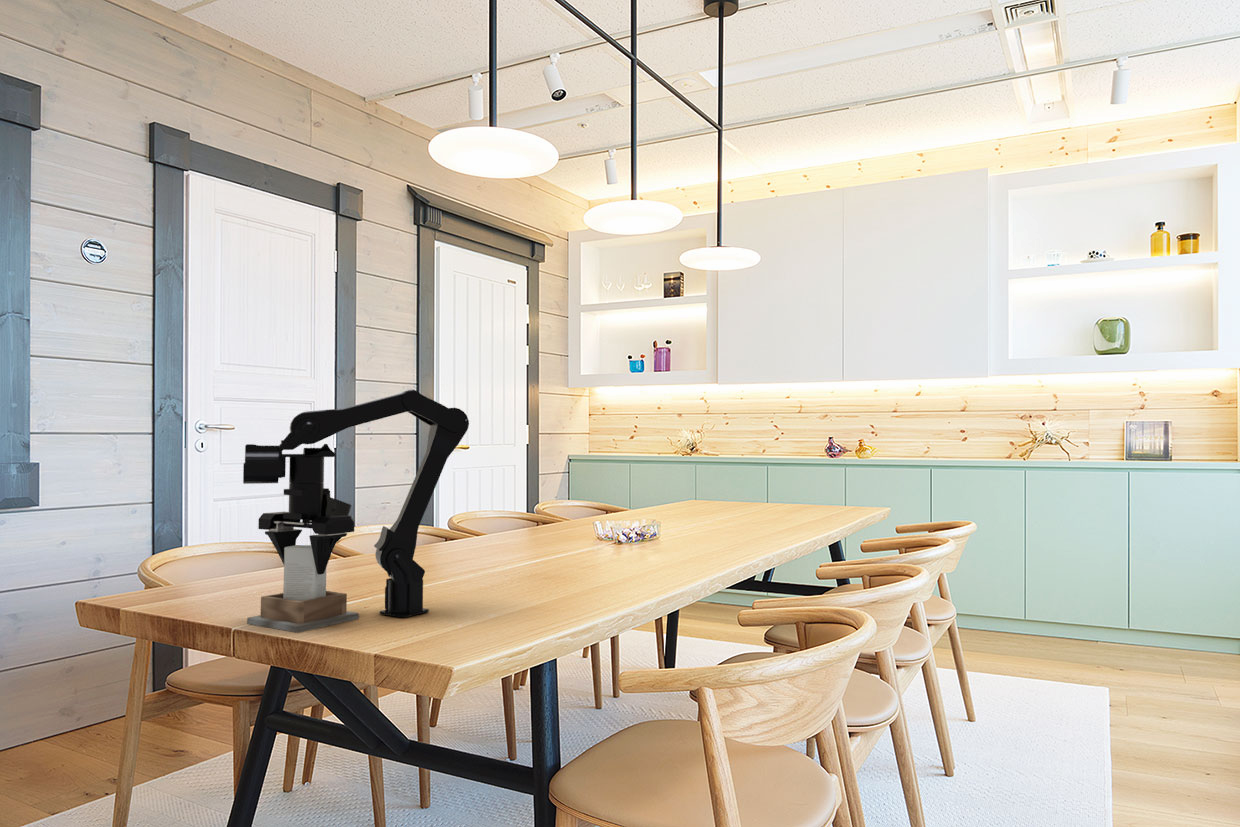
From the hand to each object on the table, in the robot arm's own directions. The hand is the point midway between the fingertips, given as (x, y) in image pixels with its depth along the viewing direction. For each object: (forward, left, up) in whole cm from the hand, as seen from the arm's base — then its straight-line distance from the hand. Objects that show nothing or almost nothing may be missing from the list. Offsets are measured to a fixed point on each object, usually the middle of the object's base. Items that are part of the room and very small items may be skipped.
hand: (305, 572), depth 146 cm
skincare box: (0, 0, -8) cm, 8 cm away
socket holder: (0, 0, -8) cm, 8 cm away
